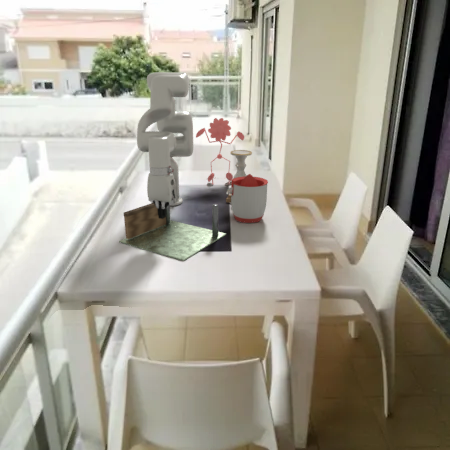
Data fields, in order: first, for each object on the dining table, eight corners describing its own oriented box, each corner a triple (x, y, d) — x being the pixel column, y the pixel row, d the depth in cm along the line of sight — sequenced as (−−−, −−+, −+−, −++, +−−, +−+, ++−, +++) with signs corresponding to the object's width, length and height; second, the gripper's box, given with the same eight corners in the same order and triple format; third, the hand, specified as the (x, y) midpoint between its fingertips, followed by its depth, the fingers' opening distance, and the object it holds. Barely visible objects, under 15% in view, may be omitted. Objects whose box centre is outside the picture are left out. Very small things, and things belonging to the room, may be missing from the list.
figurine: (244, 184, 239) (246, 119, 228) (197, 185, 236) (196, 119, 224) (239, 177, 254) (240, 115, 242) (195, 179, 250) (194, 116, 238)
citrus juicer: (224, 213, 195) (224, 169, 188) (263, 212, 197) (264, 169, 189) (228, 226, 181) (228, 179, 173) (269, 225, 182) (271, 178, 175)
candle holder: (225, 202, 210) (225, 153, 201) (233, 196, 219) (234, 148, 211) (247, 205, 206) (248, 155, 197) (254, 198, 215) (256, 150, 207)
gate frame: (119, 242, 164) (116, 206, 159) (166, 220, 186) (164, 188, 181) (183, 261, 149) (182, 222, 144) (226, 234, 172) (226, 200, 167)
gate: (163, 223, 180) (162, 199, 176) (166, 224, 179) (165, 200, 175) (125, 238, 165) (123, 212, 162) (129, 239, 164) (127, 213, 160)
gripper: (183, 170, 159) (184, 216, 166) (147, 165, 164) (150, 211, 171) (173, 175, 152) (175, 223, 159) (136, 170, 157) (140, 218, 164)
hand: (162, 217), depth 165 cm, fingers closed
